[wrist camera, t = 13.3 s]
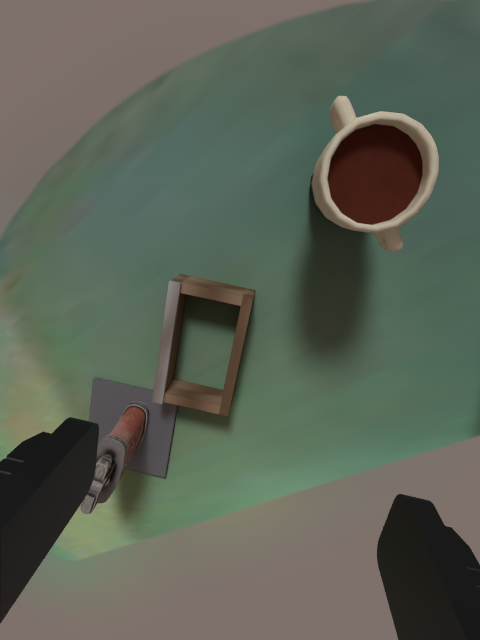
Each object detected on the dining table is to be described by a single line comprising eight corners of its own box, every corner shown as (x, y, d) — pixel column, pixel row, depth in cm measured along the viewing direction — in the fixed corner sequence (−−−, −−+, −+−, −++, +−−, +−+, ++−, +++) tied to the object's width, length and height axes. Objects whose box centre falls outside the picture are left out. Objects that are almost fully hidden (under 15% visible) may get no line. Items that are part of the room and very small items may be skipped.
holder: (255, 290, 39) (252, 299, 35) (231, 400, 43) (227, 419, 39) (179, 274, 39) (169, 281, 36) (163, 384, 43) (151, 401, 39)
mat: (179, 396, 43) (177, 398, 43) (166, 474, 47) (164, 477, 46) (95, 377, 44) (92, 379, 43) (88, 456, 47) (85, 459, 46)
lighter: (127, 396, 43) (85, 449, 34) (155, 407, 43) (120, 464, 34) (108, 450, 46) (64, 514, 36) (134, 461, 46) (97, 528, 36)
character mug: (400, 222, 36) (466, 230, 23) (329, 255, 37) (356, 279, 25) (357, 109, 34) (405, 50, 21) (284, 148, 35) (288, 115, 23)
